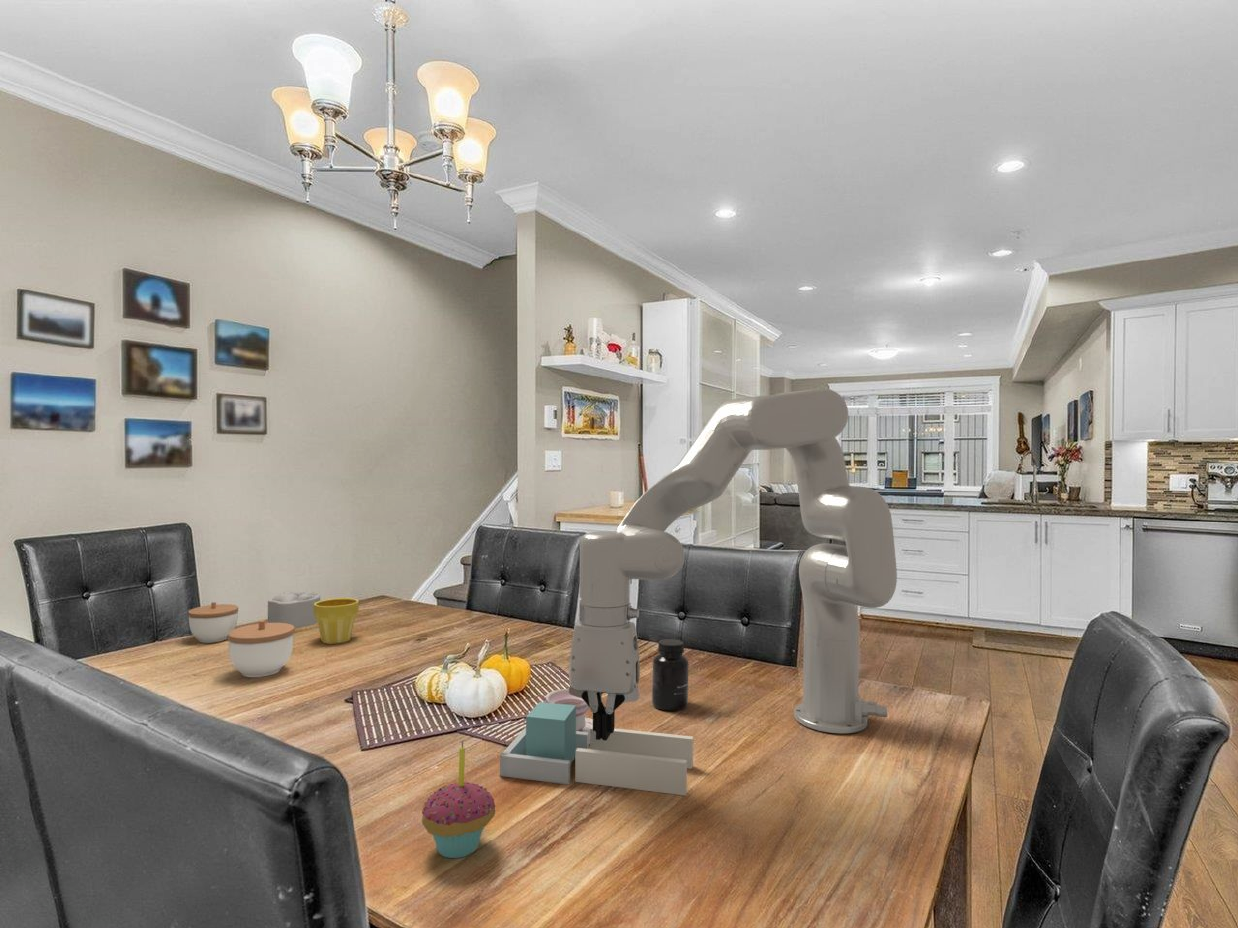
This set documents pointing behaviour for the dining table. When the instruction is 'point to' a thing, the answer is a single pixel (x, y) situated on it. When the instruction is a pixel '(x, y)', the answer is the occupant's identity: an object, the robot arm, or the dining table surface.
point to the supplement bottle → (670, 676)
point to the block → (551, 731)
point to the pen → (537, 762)
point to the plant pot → (336, 619)
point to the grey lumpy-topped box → (293, 608)
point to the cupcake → (458, 815)
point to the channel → (636, 761)
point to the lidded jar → (213, 622)
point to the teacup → (568, 699)
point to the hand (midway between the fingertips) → (603, 736)
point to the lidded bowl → (261, 648)
